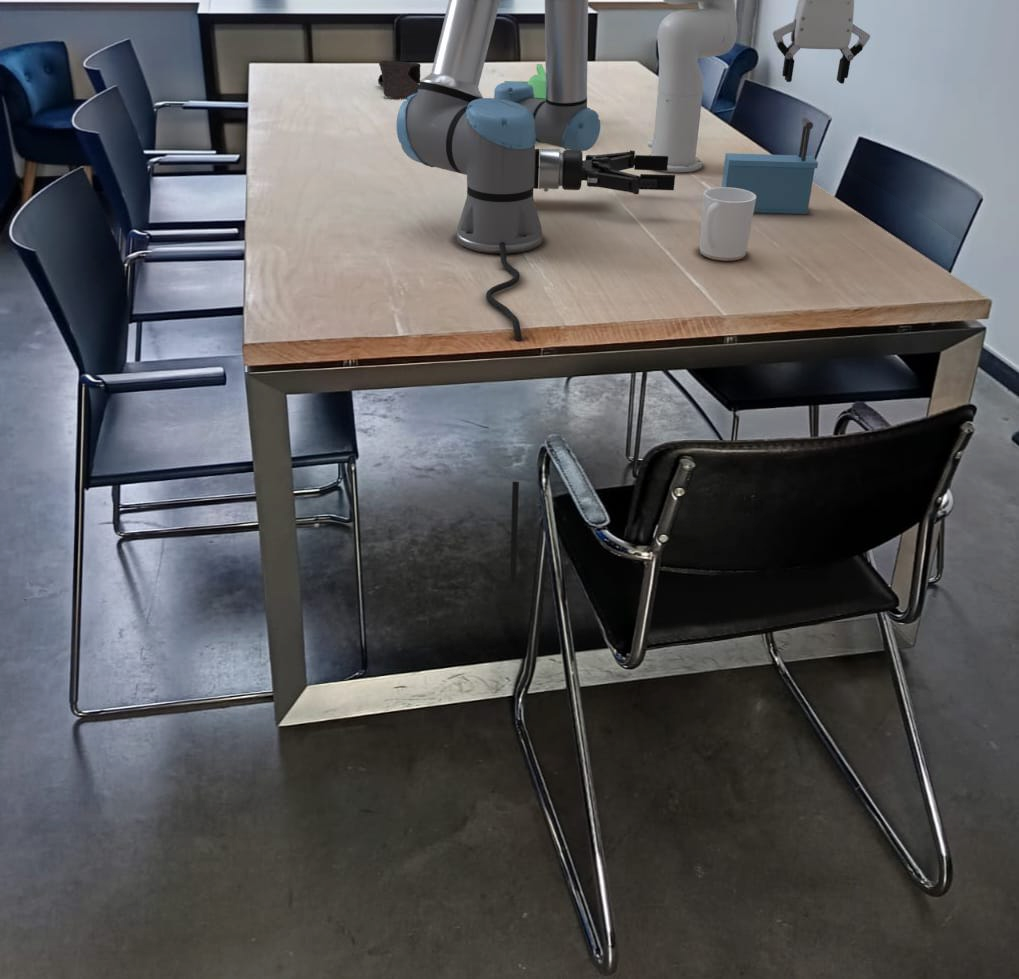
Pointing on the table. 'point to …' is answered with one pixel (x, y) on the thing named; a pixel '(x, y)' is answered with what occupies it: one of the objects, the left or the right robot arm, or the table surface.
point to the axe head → (399, 78)
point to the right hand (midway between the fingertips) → (813, 81)
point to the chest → (773, 187)
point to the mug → (726, 222)
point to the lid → (778, 160)
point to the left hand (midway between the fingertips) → (671, 172)
